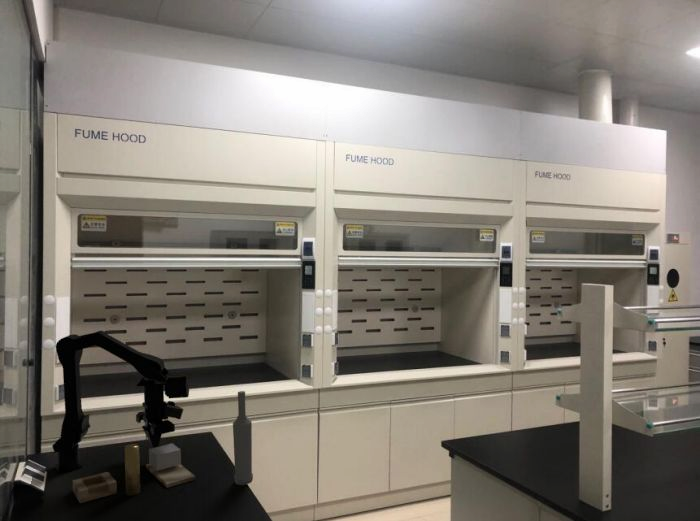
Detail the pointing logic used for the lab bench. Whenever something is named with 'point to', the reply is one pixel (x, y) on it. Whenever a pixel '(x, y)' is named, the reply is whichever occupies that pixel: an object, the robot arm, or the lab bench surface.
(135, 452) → the brass pin
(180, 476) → the plate
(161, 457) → the cover
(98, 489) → the socket block
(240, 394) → the bottle
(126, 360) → the robot arm
